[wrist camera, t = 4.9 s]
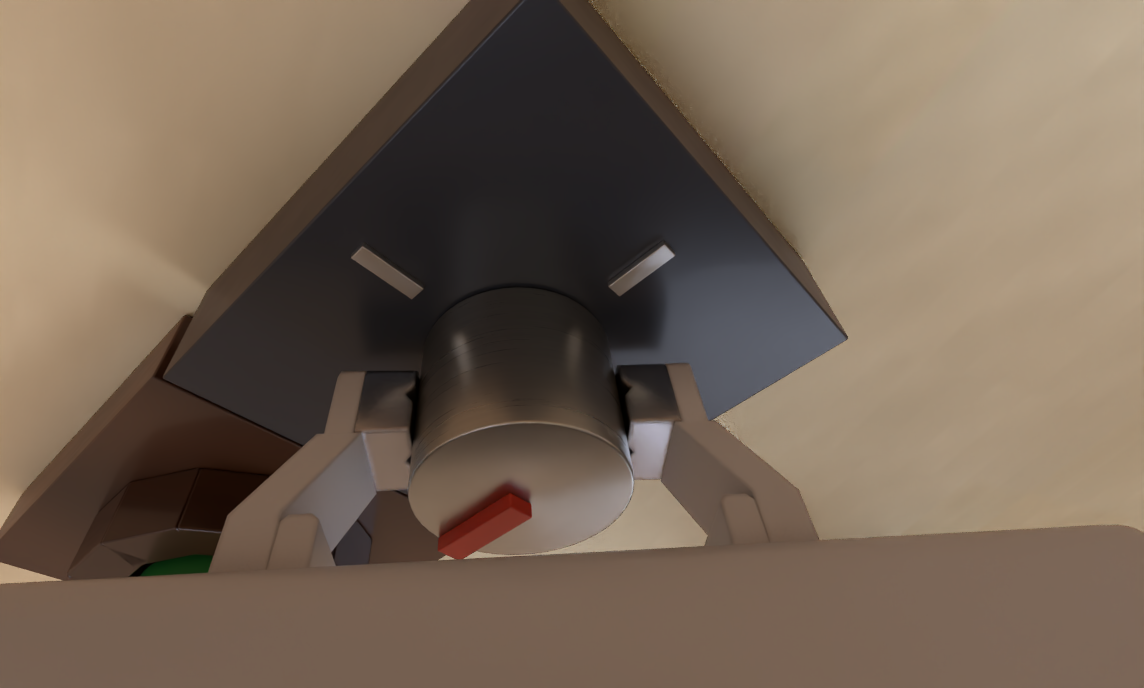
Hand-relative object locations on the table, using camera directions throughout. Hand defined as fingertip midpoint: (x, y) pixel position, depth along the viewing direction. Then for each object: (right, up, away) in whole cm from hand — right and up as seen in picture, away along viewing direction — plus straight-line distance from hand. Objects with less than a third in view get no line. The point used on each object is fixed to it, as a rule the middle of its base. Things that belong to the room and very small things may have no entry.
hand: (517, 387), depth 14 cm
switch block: (-9, -4, +7) cm, 12 cm away
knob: (0, +1, +1) cm, 1 cm away
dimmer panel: (0, +3, +3) cm, 4 cm away
